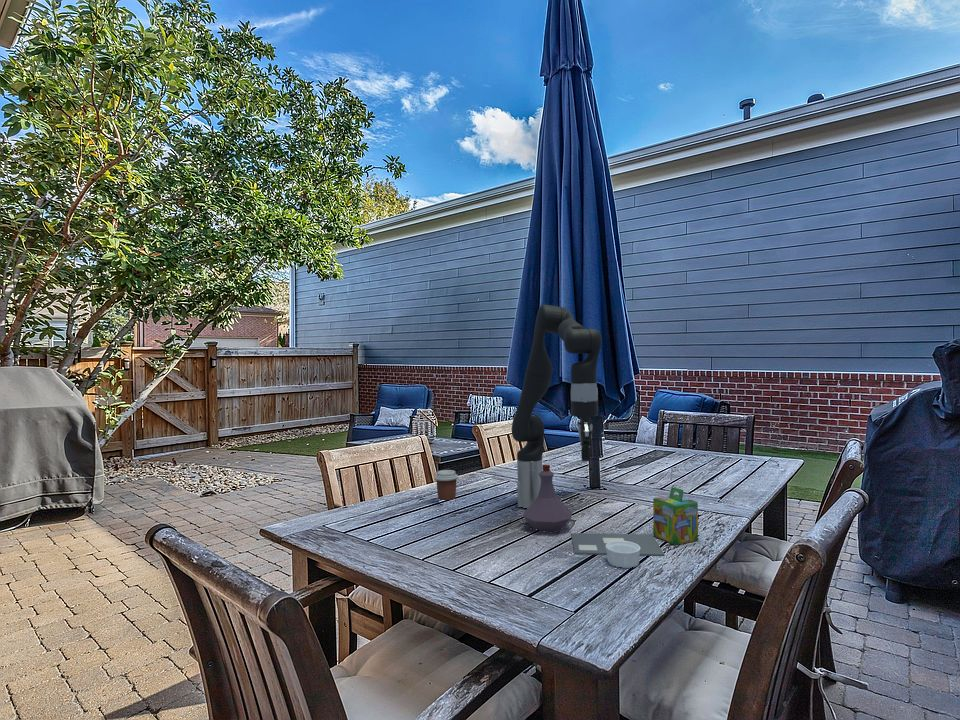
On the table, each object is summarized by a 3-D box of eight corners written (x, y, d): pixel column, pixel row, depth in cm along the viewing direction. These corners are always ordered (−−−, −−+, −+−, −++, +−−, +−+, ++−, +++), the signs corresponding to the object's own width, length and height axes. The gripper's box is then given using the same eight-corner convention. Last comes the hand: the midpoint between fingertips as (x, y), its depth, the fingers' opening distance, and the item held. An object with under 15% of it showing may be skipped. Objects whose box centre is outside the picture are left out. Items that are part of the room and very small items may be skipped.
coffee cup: (430, 503, 194) (429, 472, 194) (448, 498, 200) (448, 468, 200) (444, 508, 187) (444, 475, 187) (463, 503, 193) (462, 471, 193)
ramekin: (634, 572, 127) (633, 555, 127) (600, 564, 132) (600, 548, 132) (645, 560, 134) (645, 544, 134) (613, 553, 139) (612, 538, 139)
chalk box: (652, 536, 152) (651, 487, 152) (676, 531, 156) (674, 483, 156) (675, 546, 144) (674, 494, 144) (699, 541, 147) (698, 490, 147)
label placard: (574, 554, 140) (574, 552, 140) (571, 534, 155) (571, 533, 155) (664, 555, 137) (664, 554, 137) (651, 535, 153) (651, 534, 153)
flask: (529, 538, 153) (527, 472, 153) (517, 521, 169) (515, 461, 169) (581, 534, 155) (579, 469, 156) (564, 518, 172) (562, 459, 172)
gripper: (569, 397, 150) (570, 456, 150) (572, 401, 137) (573, 465, 137) (595, 397, 149) (596, 456, 149) (600, 400, 136) (602, 465, 136)
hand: (585, 460), depth 143 cm, fingers closed
